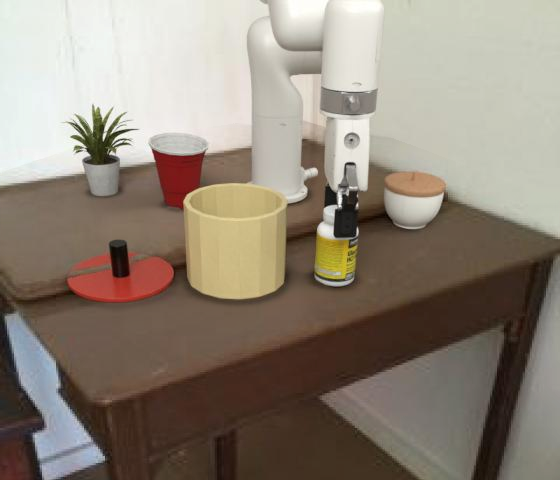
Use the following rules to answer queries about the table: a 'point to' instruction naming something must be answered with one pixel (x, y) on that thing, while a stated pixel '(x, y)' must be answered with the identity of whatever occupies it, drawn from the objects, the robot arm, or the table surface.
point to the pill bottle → (334, 253)
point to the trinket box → (413, 198)
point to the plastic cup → (178, 164)
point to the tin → (235, 240)
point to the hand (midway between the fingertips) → (339, 224)
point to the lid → (122, 276)
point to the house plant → (100, 152)
